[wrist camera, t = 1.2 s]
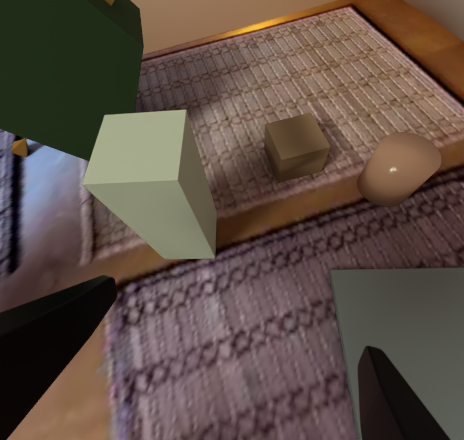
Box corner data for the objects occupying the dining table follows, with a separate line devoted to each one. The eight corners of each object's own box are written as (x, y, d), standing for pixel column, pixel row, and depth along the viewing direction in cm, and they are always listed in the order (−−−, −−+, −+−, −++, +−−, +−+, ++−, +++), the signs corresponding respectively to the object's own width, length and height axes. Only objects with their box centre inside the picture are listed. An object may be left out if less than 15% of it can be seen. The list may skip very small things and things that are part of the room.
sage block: (165, 259, 24) (81, 184, 13) (170, 214, 26) (104, 115, 15) (215, 258, 24) (177, 180, 12) (216, 212, 26) (186, 109, 14)
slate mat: (358, 442, 17) (361, 445, 16) (328, 271, 22) (330, 269, 22) (546, 448, 16) (556, 452, 16) (469, 269, 21) (475, 267, 21)
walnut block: (278, 183, 27) (281, 159, 24) (264, 150, 29) (265, 124, 26) (321, 172, 27) (330, 146, 24) (304, 140, 30) (310, 112, 26)
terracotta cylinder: (363, 207, 25) (387, 178, 20) (352, 168, 27) (372, 133, 23) (415, 205, 24) (450, 175, 20) (400, 165, 27) (429, 130, 22)
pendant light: (-114, 172, 22) (-107, -414, 7) (-63, 74, 29) (-1, -338, 13) (87, 214, 35) (249, 40, 19) (91, 139, 41) (214, -36, 26)
